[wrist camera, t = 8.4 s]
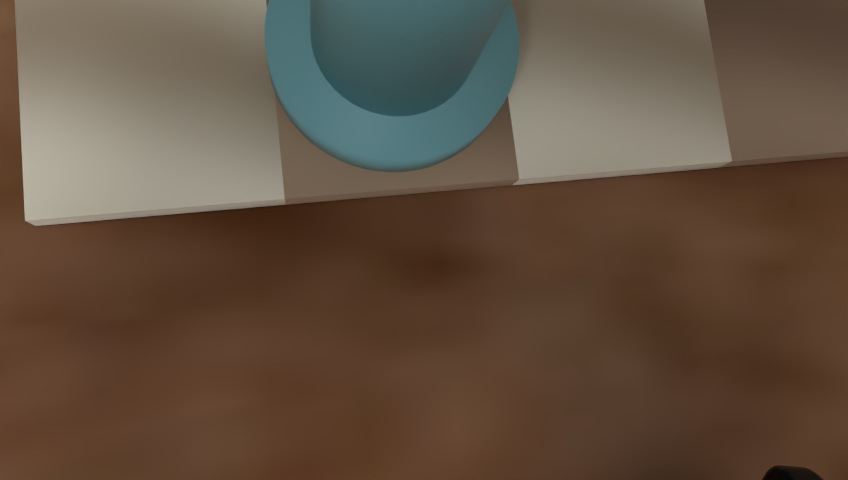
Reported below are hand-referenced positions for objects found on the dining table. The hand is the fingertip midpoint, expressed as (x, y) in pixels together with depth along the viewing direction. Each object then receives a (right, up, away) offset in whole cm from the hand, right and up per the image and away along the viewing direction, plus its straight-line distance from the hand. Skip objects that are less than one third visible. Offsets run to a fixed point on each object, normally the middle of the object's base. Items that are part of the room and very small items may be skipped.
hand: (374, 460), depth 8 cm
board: (+2, +7, +9) cm, 12 cm away
